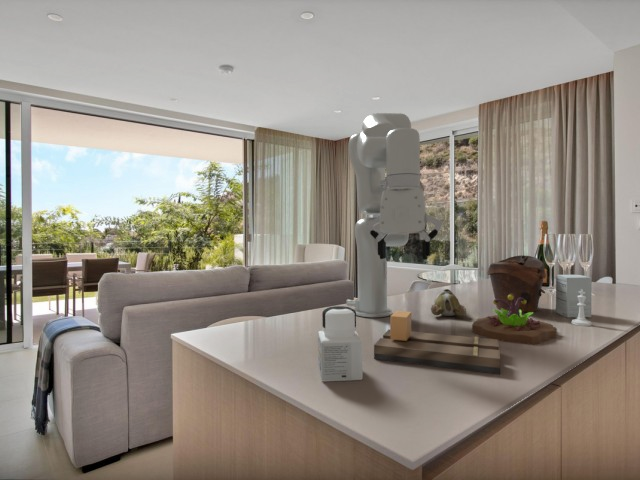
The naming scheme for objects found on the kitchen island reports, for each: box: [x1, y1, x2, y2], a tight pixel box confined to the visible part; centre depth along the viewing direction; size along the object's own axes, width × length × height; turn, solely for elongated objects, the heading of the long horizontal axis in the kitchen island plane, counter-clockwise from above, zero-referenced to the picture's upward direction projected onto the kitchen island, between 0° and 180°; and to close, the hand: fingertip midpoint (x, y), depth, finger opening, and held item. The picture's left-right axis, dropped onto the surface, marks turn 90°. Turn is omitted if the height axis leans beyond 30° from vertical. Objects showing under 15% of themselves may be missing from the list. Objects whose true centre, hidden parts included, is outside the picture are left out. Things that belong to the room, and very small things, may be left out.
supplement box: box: [555, 274, 593, 318], centre depth 126 cm, size 7×7×13 cm
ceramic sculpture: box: [430, 288, 467, 317], centre depth 128 cm, size 11×9×15 cm
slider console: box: [373, 329, 501, 375], centre depth 88 cm, size 25×14×3 cm, turn 67°
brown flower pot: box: [486, 255, 547, 313], centre depth 135 cm, size 18×20×18 cm
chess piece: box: [571, 289, 592, 327], centre depth 115 cm, size 5×5×10 cm
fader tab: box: [389, 310, 412, 341], centre depth 91 cm, size 4×6×7 cm, turn 157°
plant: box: [471, 293, 558, 345], centre depth 106 cm, size 20×20×11 cm
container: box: [317, 305, 364, 383], centre depth 77 cm, size 8×8×13 cm
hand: (403, 259), depth 91 cm, fingers open, 9 cm apart
